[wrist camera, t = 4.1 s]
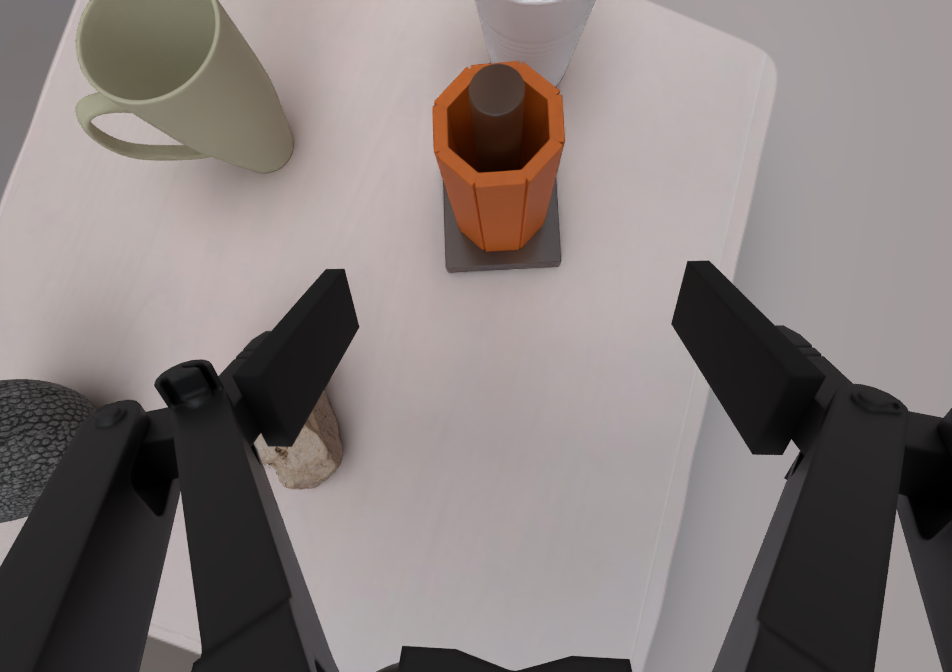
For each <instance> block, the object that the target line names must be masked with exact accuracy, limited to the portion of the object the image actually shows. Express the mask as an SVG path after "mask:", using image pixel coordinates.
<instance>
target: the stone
mask: <svg viewBox="0 0 952 672" xmlns="http://www.w3.org/2000/svg"><path fill="white" fill-rule="evenodd" d="M254 445H255V446H256V448H257V450H258V453H259V455H260V458H261V461H262V464H268V465H271V466H273V467H274V468H275V469H276V474H277V475H278V479H279V481H280V482H281V483H282V485H283V486H284V487H286V488H290V489H305V488H307V489H312V488H315V487H317V486H318V485H320V484H321V483H322V482H324V481H325V480H326V479H328V478H329V477H330V476H331V475H332V474H333V473H334V472H335V471H336V469H337V468H338V467H339V465H340V463H341V460H342V454H343V450H342V444H341V442H340V439H339V435H338V424H337V421H336V418H335V415H334V413H333V411H332V408H331V406H330V404H329V401H328V398H327V396H326V392H325V391H323V393H322V394H321V396H320V398H319V400H318V402H317V403H316V405H315V407H314V409H313V410H312V412H311V414H310V416H309V418H308V419H307V421H306V423H305V425H304V427H303V428H302V430H301V432H300V434H299V435H298V437H297V439H296V441H295V443H294V444H293V446H292V447H268V446H267V444H266V442H265V440H264V438H263V436H262V434H261V433H260V435H259V436H258V438H257V439H256V441H255V442H254Z"/></svg>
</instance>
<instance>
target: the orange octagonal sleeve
mask: <svg viewBox="0 0 952 672" xmlns="http://www.w3.org/2000/svg"><path fill="white" fill-rule="evenodd" d="M491 64H505V65H508V66H511V67H513V68H514V69H515V70H517V71H518V72H519V74H520V75H521V77H522V78H523V81H524V84H525V99H524V113H523V128H522V143H521V157H520V170H510V171H496V172H483V173H479V169H478V162H477V154H476V146H475V139H474V131H473V124H472V116H471V109H470V101H469V93H468V92H469V85H470V82H471V80H472V78H473V76H474V75H475V74H476V73H477V72H478V71H479V70H480V69H482V68H483V67H485V66H488V65H491ZM434 104H435V106H433V140H434V153H435V156H436V159H437V162H438V166H439V169H440V172H441V175H442V178H443V181H444V184H445V187H446V190H447V193H448V197H449V200H450V203H451V206H452V209H453V212H454V215H455V218H456V221H457V225H458V227H459V229H460V231H461V232H462V233H464V234H465V235H466V236H467V237H468V238H469V239H470V240H472V241H473V242H474V243H475V244H476V245H477V246H478V247H480V248H481V249H482V250H484V249H485V250H486V252H490V251H507V250H519V247H520V248H522V247H523V246H524V245H525V244H526V243H527V242H528V241H529V240H530V239H531V238H532V237H533V235H534V234H535V233H536V232H537V231H538V230H539V229H540V228H541V227H542V226H543V224H544V221H545V218H546V214H547V210H548V206H549V202H550V198H551V194H552V190H553V186H554V182H555V178H556V174H557V171H558V167H559V163H560V159H561V155H562V151H563V147H564V143H565V132H564V116H563V100H562V95H560V90H559V89H557V88H556V87H555V86H553V85H552V84H551V83H550V82H548V81H547V80H546V79H545V78H543V77H542V76H541V75H540V74H538V73H537V72H536V71H535V70H533V69H532V68H531V67H530V66H528V65H527V64H526V63H525V62H522V63H521V64H520V63H519V61H511V62H500V63H489V64H479V65H471V69H469V68H468V67H466V68H465V69H464V70H463V71H462V72H461V73H460V75H459V76H458V77H457V78H456V79H455V80H454V81H453V82H452V83H451V84H450V85H449V86H448V87H447V88H446V89H445V90H444V92H443V93H442V94H441V95H440V96H439V97H438V98H437V99H436V100H435V101H434Z"/></svg>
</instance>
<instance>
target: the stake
mask: <svg viewBox="0 0 952 672" xmlns="http://www.w3.org/2000/svg"><path fill="white" fill-rule="evenodd" d="M468 93H469V101H470V109H471V116H472V124H473V131H474V139H475V146H476V154H477V162H478V169H479V173H483V172H496V171H510V170H520V157H521V143H522V128H523V113H524V99H525V84H524V81H523V78H522V77H521V75H520V74H519V72H518V71H517V70H515V69H514V68H513V67H511V66H508V65H505V64H491V65H488V66H485V67H483V68H482V69H480V70H479V71H478V72H477V73H476V74H475V75H474V76H473V78H472V80H471V82H470V85H469V92H468ZM443 194H444V226H445V258H446V269H447V271H448V272H449V273H450V272H468V271H486V270H504V269H521V268H539V267H557V266H559V264H560V262H561V249H560V233H559V216H558V199H557V183H556V178H555V182H554V186H553V190H552V194H551V198H550V202H549V206H548V210H547V214H546V218H545V221H544V224H543V226H542V227H541V228H540V229H539V230H538V231H537V232H536V233H535V234H534V235H533V237H532V238H531V239H530V240H529V241H528V242H527V243H526V244H525V245H524V246H523V247H522V248H520V247H519V250H507V251H490V252H486V250H485V249H484V250H482V249H481V248H480V247H478V246H477V245H476V244H475V243H474V242H473V241H472V240H470V239H469V238H468V237H467V236H466V235H465V234H464V233H462V232H461V231H460V229H459V227H458V225H457V221H456V218H455V215H454V212H453V209H452V206H451V203H450V200H449V197H448V193H447V190H446V187H445V184H444V181H443Z"/></svg>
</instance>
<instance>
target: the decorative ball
mask: <svg viewBox="0 0 952 672" xmlns="http://www.w3.org/2000/svg"><path fill="white" fill-rule="evenodd" d="M96 410H97V409H96V407H95V406H94V405H93V404H92V403H91V402H90V401H89V400H88V399H86V398H85V397H84V396H82V395H81V394H79V393H77V392H76V391H74V390H72V389H69V388H67V387H64V386H62V385H59V384H55V383H51V382H46V381H40V380H28V379H15V380H2V381H0V523H2V522H7V521H12V520H17V519H20V518H24V517H27V516H29V515H30V513H31V511H32V510H33V508H34V506H35V504H36V502H37V501H38V499H39V497H40V495H41V494H42V492H43V490H44V488H45V486H46V485H47V483H48V481H49V479H50V478H51V476H52V474H53V472H54V470H55V469H56V467H57V465H58V463H59V462H60V460H61V458H62V456H63V454H64V453H65V451H66V449H67V447H68V446H69V444H70V442H71V440H72V438H73V437H74V435H75V433H76V431H77V430H78V428H79V426H80V425H81V423H82V422H83V421H84V420H85V419H86V418H87V417H88V416H89V415H91V414H92V413H94V412H95V411H96Z"/></svg>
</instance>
